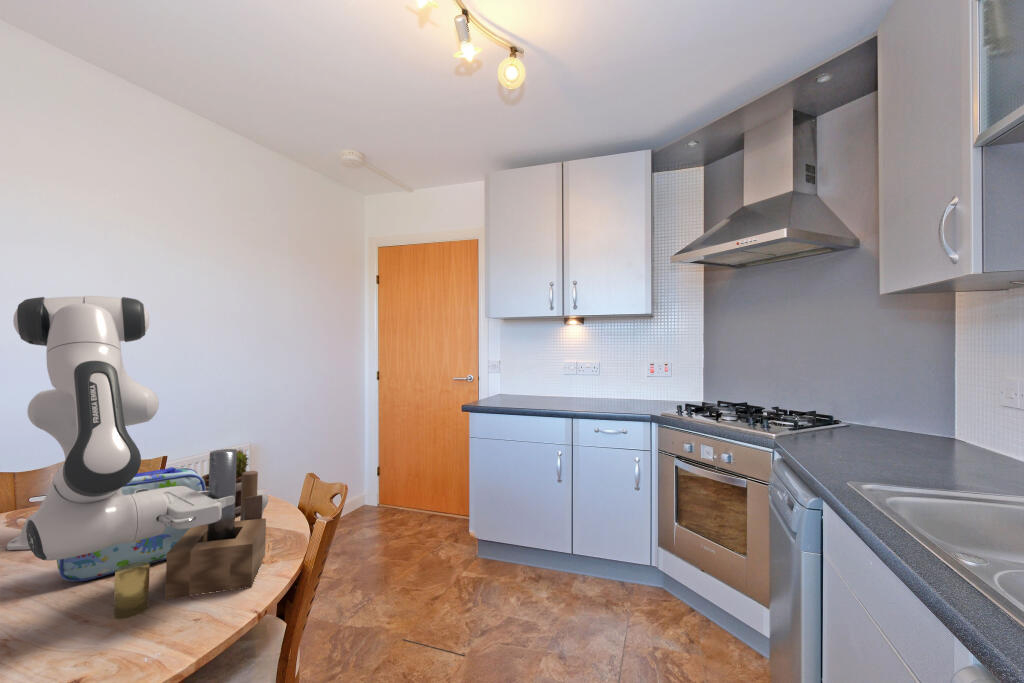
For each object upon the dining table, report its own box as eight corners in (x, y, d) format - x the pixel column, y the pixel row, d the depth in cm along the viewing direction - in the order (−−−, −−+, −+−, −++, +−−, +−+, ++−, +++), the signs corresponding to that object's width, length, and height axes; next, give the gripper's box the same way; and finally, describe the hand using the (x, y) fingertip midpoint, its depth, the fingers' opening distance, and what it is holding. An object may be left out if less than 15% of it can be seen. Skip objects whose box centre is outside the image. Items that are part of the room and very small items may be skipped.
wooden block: (244, 557, 107) (246, 481, 107) (238, 541, 115) (240, 471, 116) (261, 553, 109) (263, 479, 109) (254, 538, 117) (256, 469, 118)
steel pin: (203, 568, 94) (206, 454, 95) (210, 558, 99) (213, 449, 100) (230, 565, 96) (233, 453, 97) (236, 555, 101) (239, 448, 102)
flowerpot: (190, 528, 123) (192, 455, 124) (197, 511, 136) (199, 445, 137) (251, 519, 130) (253, 450, 131) (252, 503, 144) (254, 441, 144)
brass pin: (107, 620, 81) (109, 576, 81) (121, 605, 86) (123, 563, 86) (141, 615, 83) (143, 572, 83) (152, 601, 87) (154, 560, 88)
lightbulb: (249, 525, 126) (250, 486, 126) (271, 525, 126) (272, 486, 126) (237, 534, 120) (238, 493, 120) (261, 534, 120) (262, 492, 120)
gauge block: (165, 599, 88) (166, 553, 88) (191, 565, 102) (192, 525, 103) (251, 587, 93) (252, 543, 93) (264, 556, 107) (266, 518, 108)
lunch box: (197, 539, 116) (199, 458, 117) (208, 551, 109) (210, 465, 110) (54, 574, 97) (58, 477, 98) (55, 592, 90) (60, 488, 91)
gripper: (169, 508, 82) (249, 490, 93) (133, 488, 93) (208, 474, 105) (167, 543, 81) (248, 521, 93) (132, 518, 93) (207, 501, 105)
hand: (226, 496), depth 99 cm, fingers closed on steel pin, 5 cm apart
